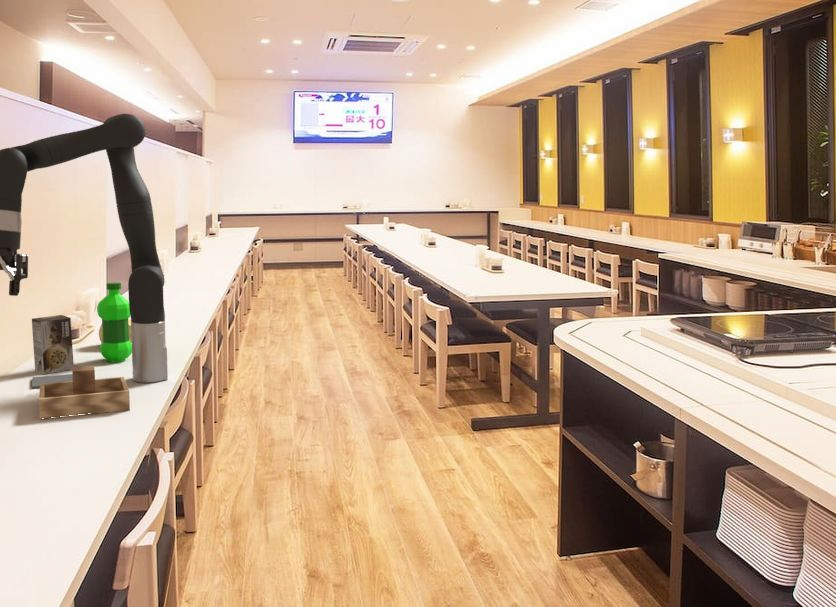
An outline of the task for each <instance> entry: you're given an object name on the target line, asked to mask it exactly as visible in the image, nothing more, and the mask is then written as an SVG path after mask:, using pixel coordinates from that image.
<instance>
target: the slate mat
mask: <svg viewBox="0 0 836 607" xmlns="http://www.w3.org/2000/svg"><path fill="white" fill-rule="evenodd" d="M68 381H73V376H72V373H70V374H58V375H57V374H56V375H44V376H43V375H42V376H32V381H31V390H33V389H34V390H35V389H40V384H44V383H56V382H68Z"/></svg>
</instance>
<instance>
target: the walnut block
mask: <svg viewBox="0 0 836 607" xmlns="http://www.w3.org/2000/svg"><path fill="white" fill-rule="evenodd" d="M71 372H72V373H71V374H72V376H73V395H81V394H92V393H96V391H95V379H96V373H95V372H96V371H95V366H94V365H93V364H92V365H82V366H81V365H80V366H74V367H72V369H71Z"/></svg>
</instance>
